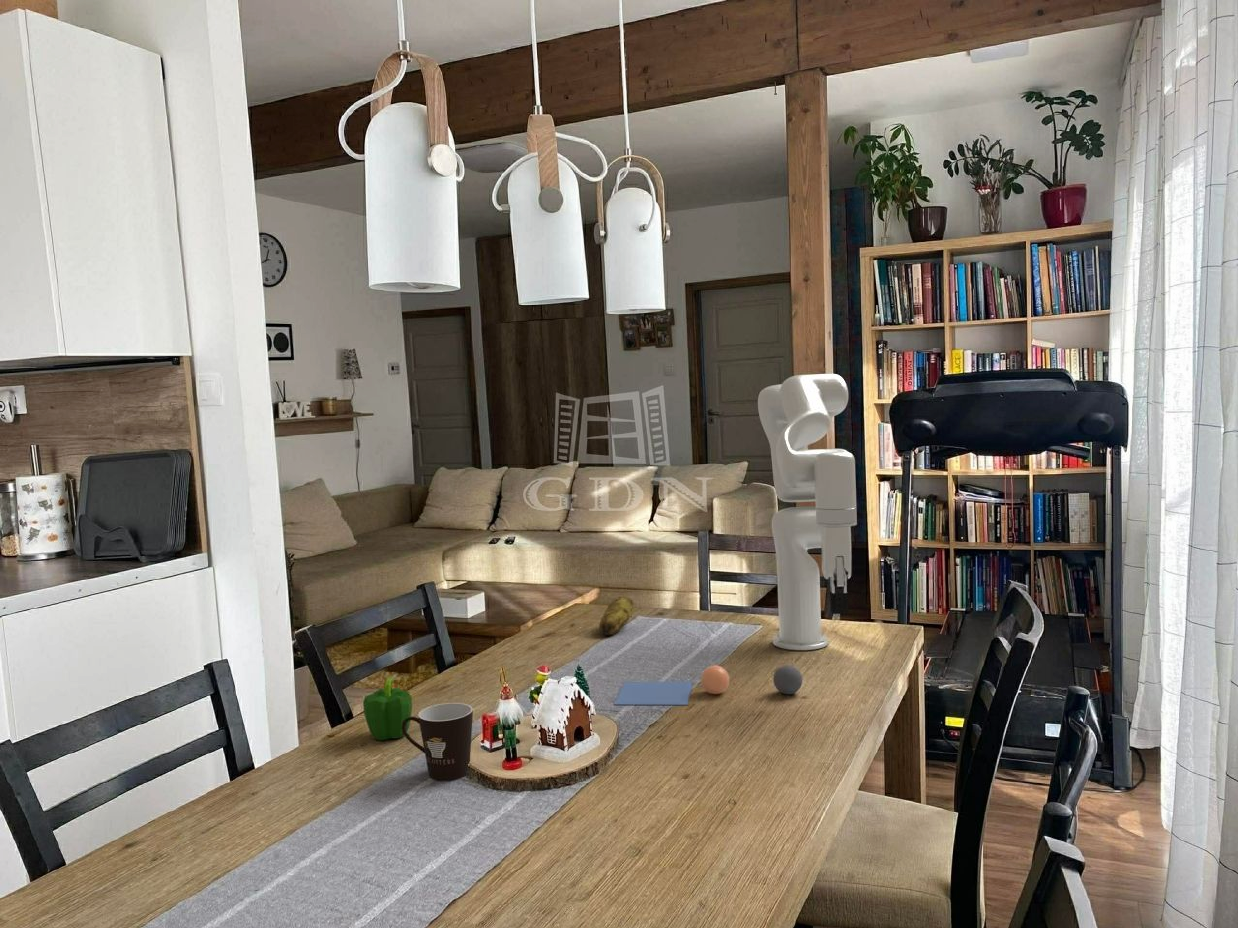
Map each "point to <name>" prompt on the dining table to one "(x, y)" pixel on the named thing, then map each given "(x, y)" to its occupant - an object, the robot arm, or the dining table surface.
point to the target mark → (654, 693)
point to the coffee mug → (445, 739)
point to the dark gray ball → (787, 679)
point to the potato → (616, 615)
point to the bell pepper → (387, 711)
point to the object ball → (715, 679)
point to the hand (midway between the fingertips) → (839, 612)
